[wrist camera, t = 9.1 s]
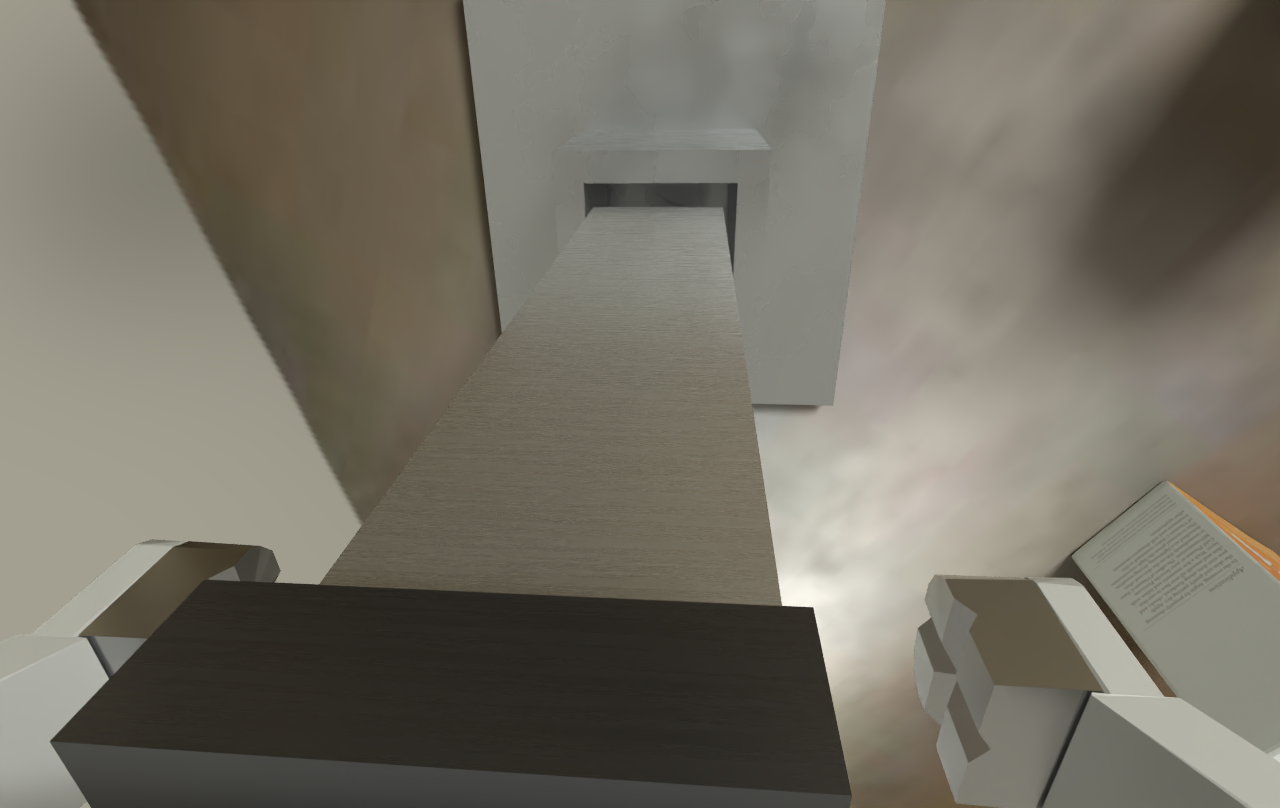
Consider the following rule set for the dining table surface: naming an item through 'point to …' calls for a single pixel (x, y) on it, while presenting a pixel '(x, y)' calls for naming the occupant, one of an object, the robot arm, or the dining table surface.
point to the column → (518, 590)
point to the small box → (1197, 607)
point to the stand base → (687, 148)
